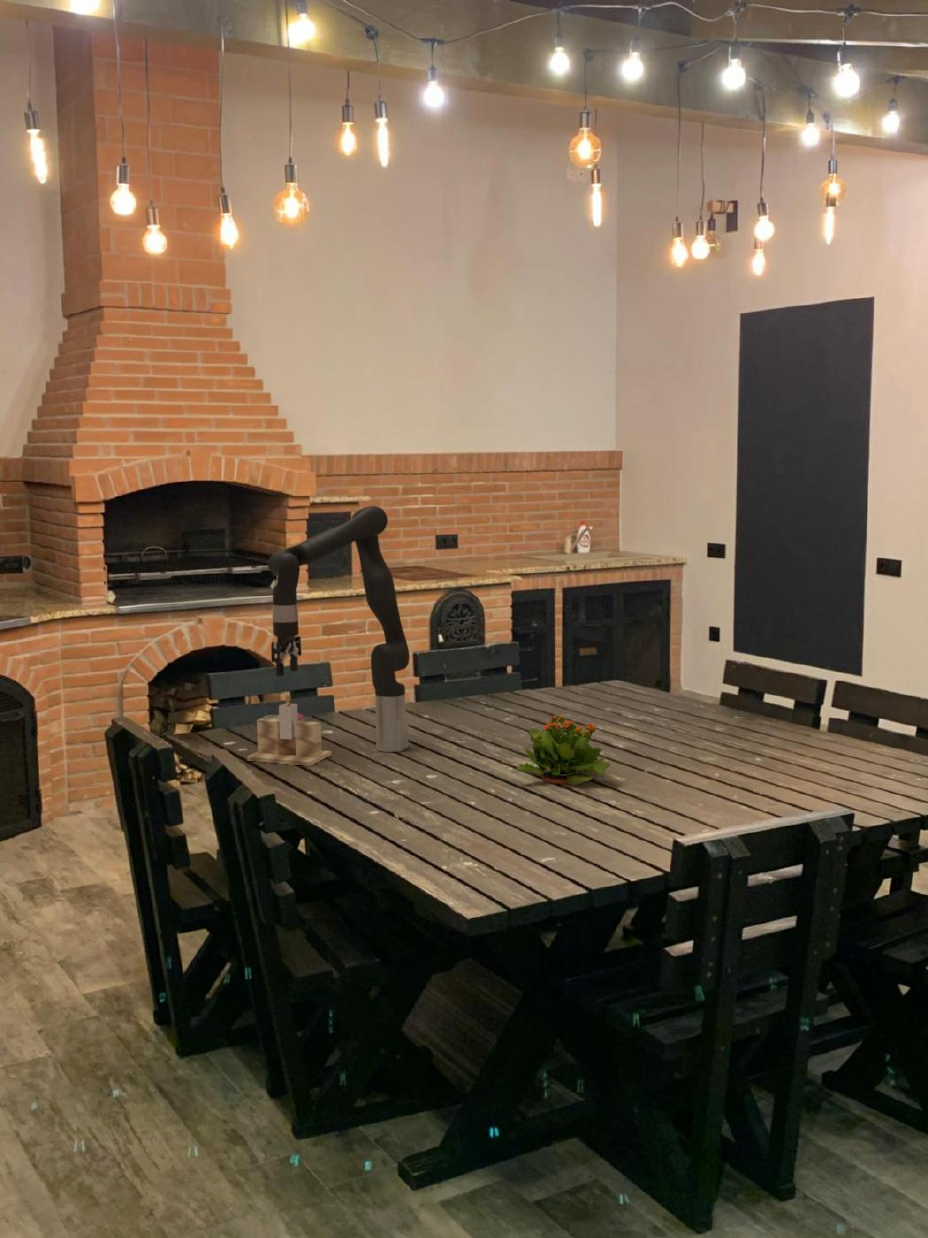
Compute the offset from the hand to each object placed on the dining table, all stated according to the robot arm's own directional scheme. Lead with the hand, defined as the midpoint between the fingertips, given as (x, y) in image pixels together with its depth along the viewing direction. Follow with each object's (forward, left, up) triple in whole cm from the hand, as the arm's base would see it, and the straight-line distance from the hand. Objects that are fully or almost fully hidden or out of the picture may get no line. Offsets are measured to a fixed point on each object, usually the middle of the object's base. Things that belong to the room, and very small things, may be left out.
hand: (287, 673), depth 369 cm
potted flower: (-83, -2, -26) cm, 87 cm away
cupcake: (+16, -31, -26) cm, 44 cm away
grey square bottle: (0, 0, -20) cm, 20 cm away
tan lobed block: (0, 0, -26) cm, 26 cm away
